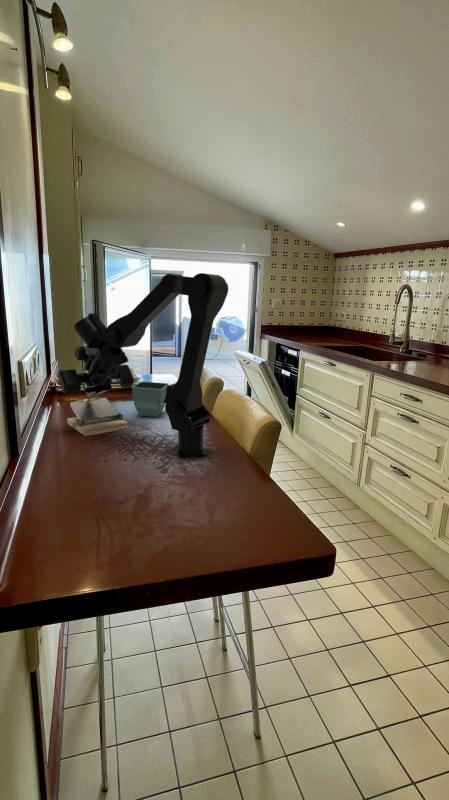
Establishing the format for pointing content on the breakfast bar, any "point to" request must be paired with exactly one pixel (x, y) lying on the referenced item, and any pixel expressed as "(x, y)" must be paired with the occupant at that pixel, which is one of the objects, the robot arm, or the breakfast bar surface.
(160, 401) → the flower pot
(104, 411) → the flat square panel
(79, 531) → the breakfast bar surface
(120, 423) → the pale wooden slab
